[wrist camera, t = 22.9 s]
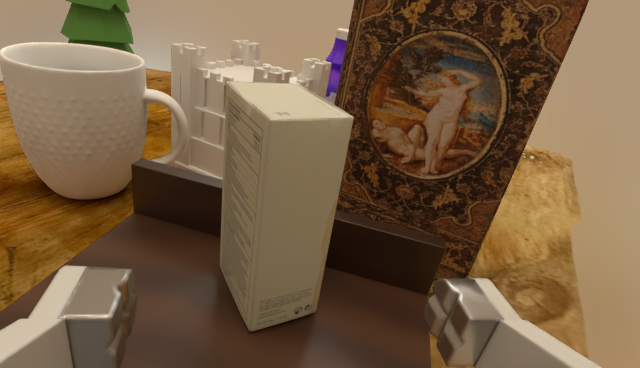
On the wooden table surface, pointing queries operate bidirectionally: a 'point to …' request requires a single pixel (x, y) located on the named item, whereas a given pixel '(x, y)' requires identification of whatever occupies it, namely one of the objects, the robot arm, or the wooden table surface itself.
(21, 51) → the mug
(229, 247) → the cosmetic box
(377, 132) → the book
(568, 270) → the wooden table surface
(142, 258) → the shelf
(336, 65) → the bottle
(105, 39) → the decorative tree
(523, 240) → the wooden table surface
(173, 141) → the castle model
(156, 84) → the wooden table surface
